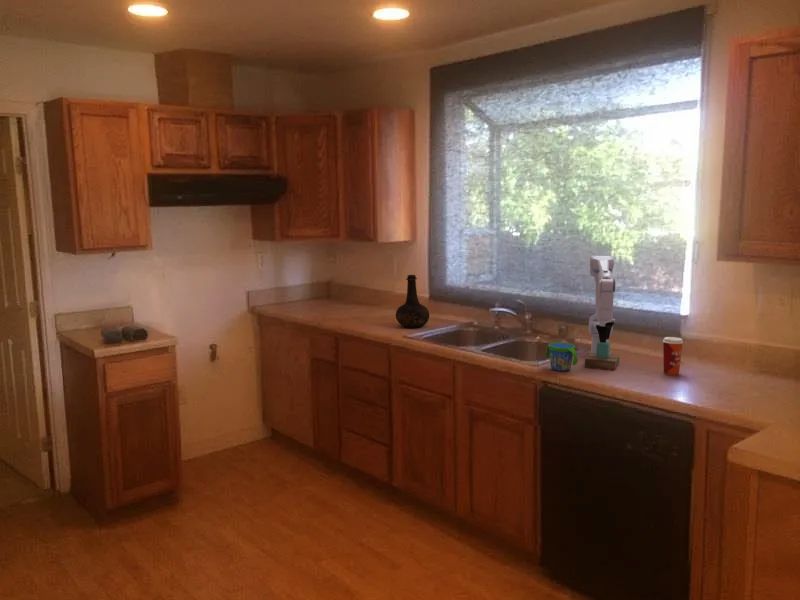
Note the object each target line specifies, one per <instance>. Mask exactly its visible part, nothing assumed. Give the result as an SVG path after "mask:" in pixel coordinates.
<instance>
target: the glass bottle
mask: <svg viewBox="0 0 800 600" xmlns="http://www.w3.org/2000/svg"><path fill="white" fill-rule="evenodd" d="M417 279H418V278H417V275H415V274H408V275H407V278H406V279H405V280H407V285H406V286H407V289H406V299H405V302H404V304H402V305H400V306H399V307H398V308H397V309H396V312H395V319H396V321H397V322H398V323H399V325H400V326H402V327H403V328H407V329H408V328H409V329H417V328H421V327H423V326H425V325H426V324H427V323H428V321H429V319H430V312H429V309H428V308H427V306H425V305H423V304H421V303H420V301H419V298H418V293H417V292H418V291H417Z"/></svg>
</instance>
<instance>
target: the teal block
mask: <svg viewBox="0 0 800 600" xmlns="http://www.w3.org/2000/svg"><path fill="white" fill-rule="evenodd" d="M610 353H611V342H610V341H609V342H606V343H601V342H598V343H597V355H596V358H603V359H608V358H609V357H610V355H611V354H610Z"/></svg>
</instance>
